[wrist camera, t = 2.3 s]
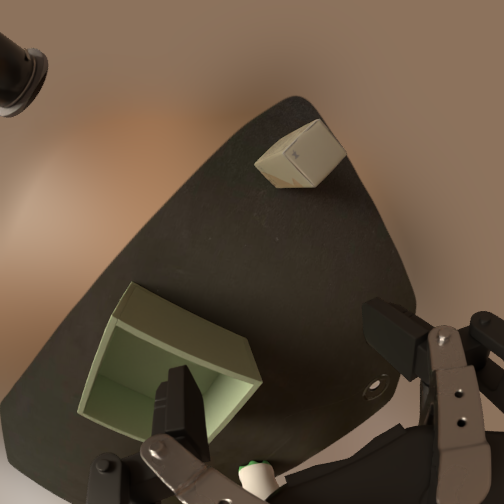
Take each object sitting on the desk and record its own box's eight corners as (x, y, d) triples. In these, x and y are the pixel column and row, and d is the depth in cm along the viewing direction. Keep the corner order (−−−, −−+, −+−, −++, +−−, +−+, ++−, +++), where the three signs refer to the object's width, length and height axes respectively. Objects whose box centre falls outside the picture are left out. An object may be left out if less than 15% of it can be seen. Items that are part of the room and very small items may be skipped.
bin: (94, 371, 34) (76, 413, 24) (131, 281, 32) (111, 315, 23) (192, 413, 39) (195, 457, 30) (247, 338, 37) (263, 382, 28)
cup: (219, 469, 45) (229, 520, 31) (258, 450, 45) (275, 503, 31) (251, 480, 48) (263, 525, 35) (287, 462, 48) (306, 508, 35)
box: (276, 189, 33) (312, 191, 22) (252, 164, 32) (279, 154, 21) (304, 161, 33) (349, 153, 22) (281, 136, 32) (319, 116, 21)
